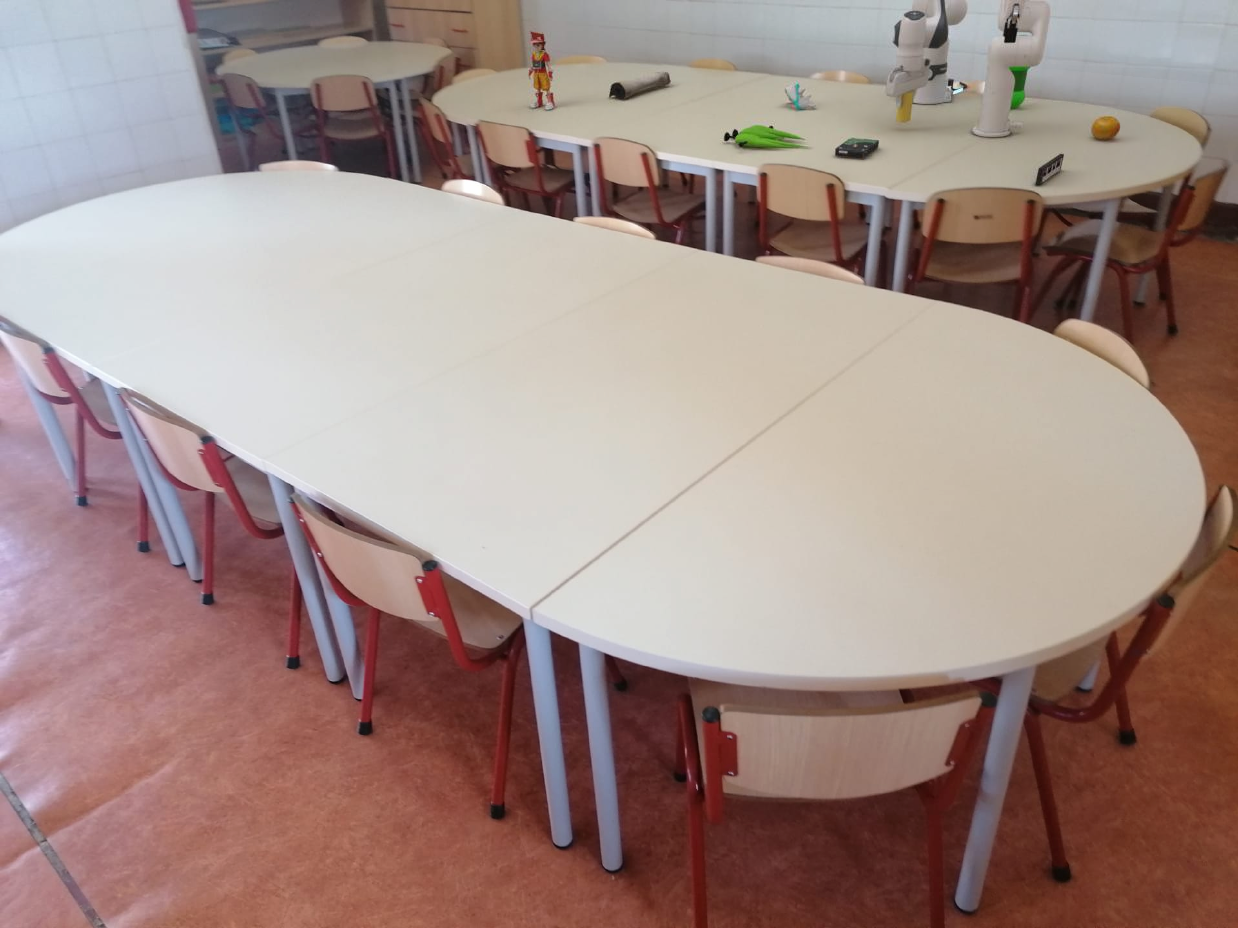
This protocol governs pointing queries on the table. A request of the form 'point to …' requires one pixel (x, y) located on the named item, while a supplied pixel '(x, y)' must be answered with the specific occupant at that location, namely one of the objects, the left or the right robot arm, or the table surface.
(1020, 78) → the green dumbbell
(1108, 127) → the fruit
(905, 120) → the tin
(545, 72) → the toy
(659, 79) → the rolled mat
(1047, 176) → the midi keyboard
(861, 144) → the disk drive
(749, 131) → the toy
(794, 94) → the anatomical model
